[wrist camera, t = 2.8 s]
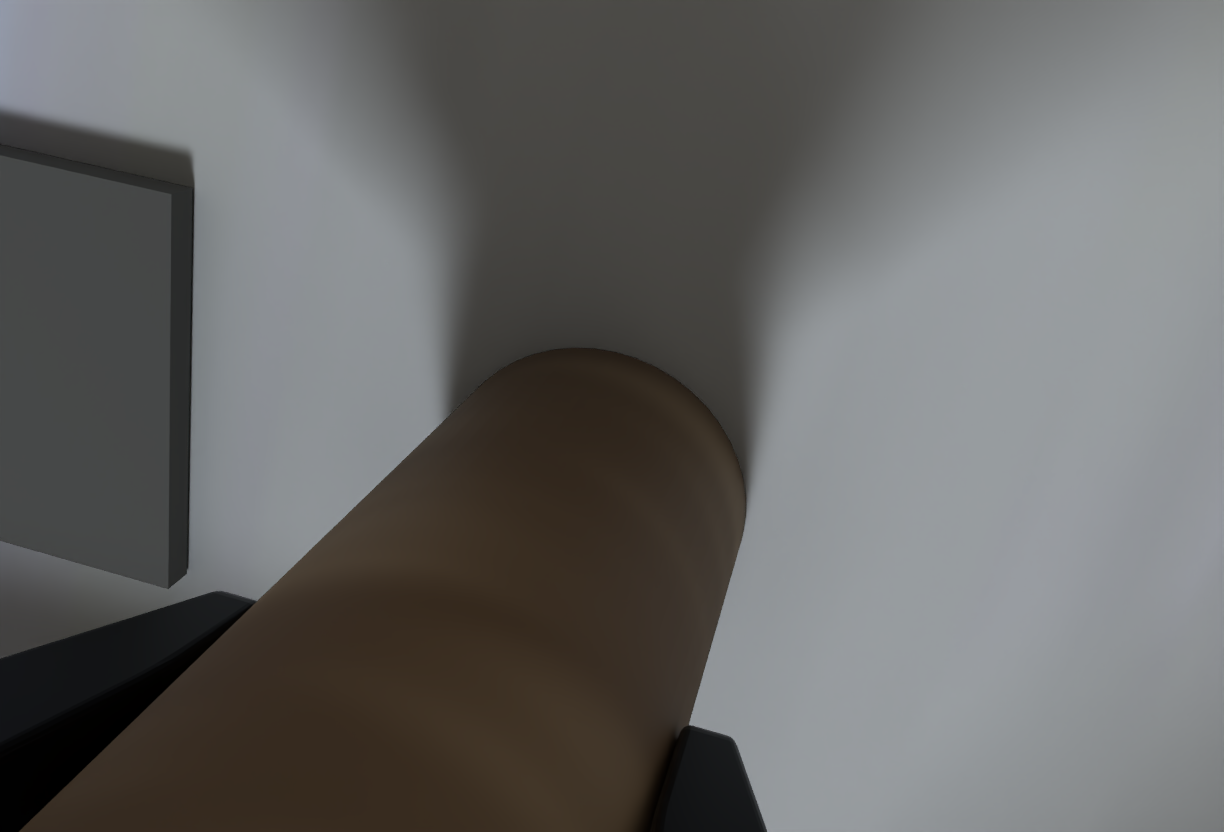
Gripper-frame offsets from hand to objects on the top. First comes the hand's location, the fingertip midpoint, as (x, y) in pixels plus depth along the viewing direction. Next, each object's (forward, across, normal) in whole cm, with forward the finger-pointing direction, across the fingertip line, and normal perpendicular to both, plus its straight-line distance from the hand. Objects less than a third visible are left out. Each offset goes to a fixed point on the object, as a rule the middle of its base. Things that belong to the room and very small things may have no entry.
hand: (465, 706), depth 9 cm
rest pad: (+4, +8, 0) cm, 8 cm away
